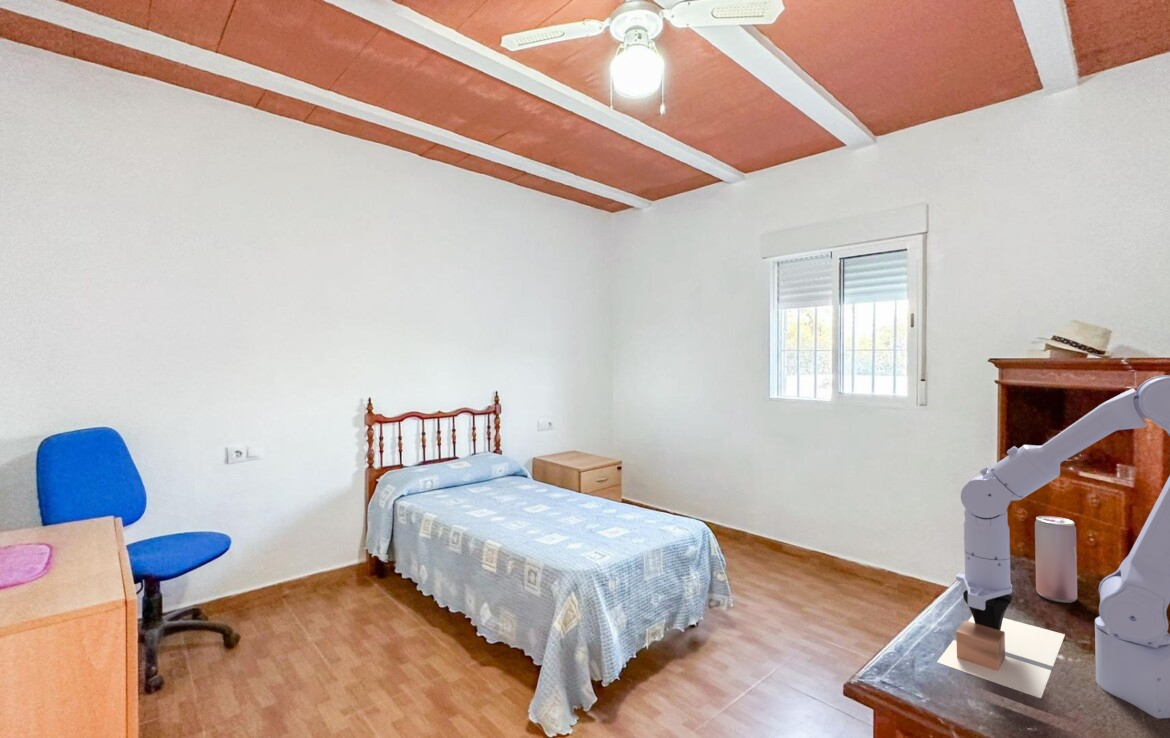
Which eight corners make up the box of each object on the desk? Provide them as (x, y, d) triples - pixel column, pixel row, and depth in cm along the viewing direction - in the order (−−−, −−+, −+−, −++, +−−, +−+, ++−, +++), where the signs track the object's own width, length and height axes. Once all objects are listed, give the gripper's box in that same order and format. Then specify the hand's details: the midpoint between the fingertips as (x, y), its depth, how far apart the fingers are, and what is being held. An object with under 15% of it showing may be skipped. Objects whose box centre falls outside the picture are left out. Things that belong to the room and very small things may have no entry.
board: (976, 615, 95) (975, 610, 95) (1065, 640, 86) (1065, 634, 86) (936, 668, 79) (936, 662, 79) (1041, 705, 70) (1041, 698, 70)
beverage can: (1035, 587, 106) (1034, 513, 106) (1075, 595, 103) (1074, 518, 103) (1036, 598, 102) (1035, 521, 102) (1078, 606, 98) (1077, 526, 98)
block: (965, 645, 84) (965, 620, 84) (1005, 657, 80) (1004, 631, 80) (956, 657, 80) (956, 631, 80) (997, 671, 77) (997, 643, 77)
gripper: (968, 537, 90) (969, 615, 90) (943, 559, 81) (944, 647, 81) (1020, 547, 85) (1022, 630, 85) (1000, 571, 76) (1002, 666, 76)
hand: (988, 639), depth 83 cm, fingers closed
